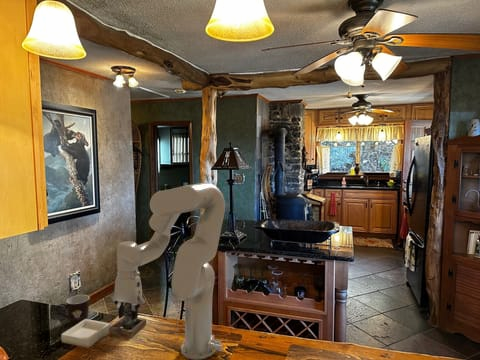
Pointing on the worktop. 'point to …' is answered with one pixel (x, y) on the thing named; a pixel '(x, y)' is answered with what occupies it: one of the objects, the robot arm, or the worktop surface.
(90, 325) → the tray
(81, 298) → the coffee mug
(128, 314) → the salt shaker
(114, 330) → the tray
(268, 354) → the worktop surface
